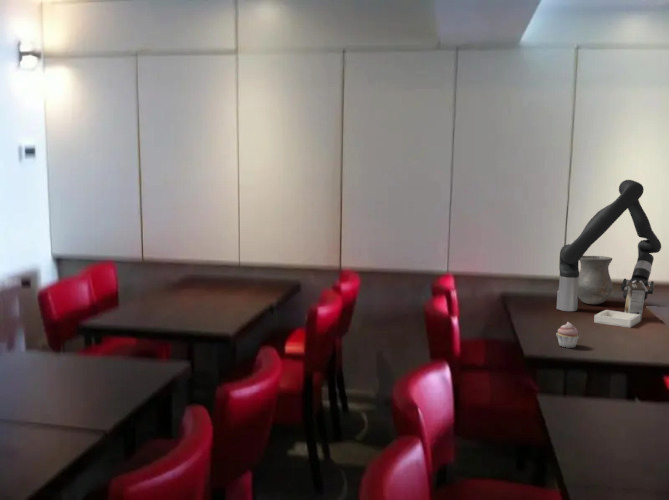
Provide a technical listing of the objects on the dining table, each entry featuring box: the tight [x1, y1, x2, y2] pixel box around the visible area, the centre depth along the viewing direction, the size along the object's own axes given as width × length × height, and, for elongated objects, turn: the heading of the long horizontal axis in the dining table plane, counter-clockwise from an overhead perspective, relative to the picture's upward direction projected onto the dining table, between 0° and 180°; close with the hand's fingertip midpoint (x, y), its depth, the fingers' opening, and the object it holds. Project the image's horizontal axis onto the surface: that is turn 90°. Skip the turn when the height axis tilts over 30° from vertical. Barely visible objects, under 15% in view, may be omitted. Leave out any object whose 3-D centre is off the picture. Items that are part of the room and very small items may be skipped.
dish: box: [593, 309, 641, 329], centre depth 311 cm, size 16×16×4 cm
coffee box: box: [624, 282, 645, 321], centre depth 317 cm, size 9×6×16 cm
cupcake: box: [555, 321, 581, 349], centre depth 268 cm, size 9×9×10 cm
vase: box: [578, 255, 614, 305], centre depth 353 cm, size 20×19×25 cm
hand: (634, 298), depth 318 cm, fingers closed on coffee box, 8 cm apart
